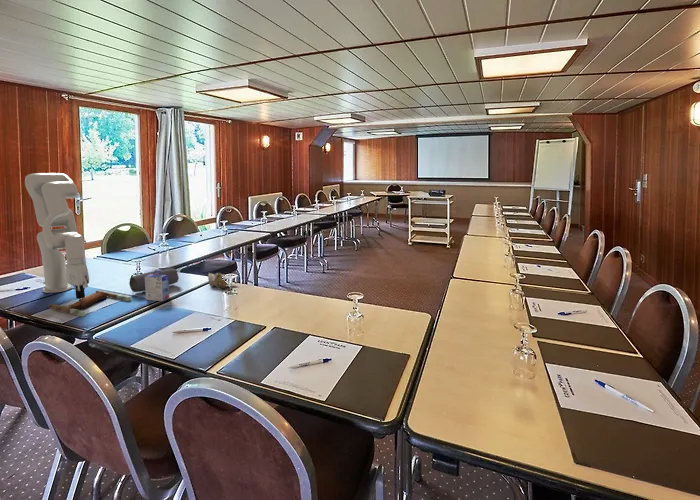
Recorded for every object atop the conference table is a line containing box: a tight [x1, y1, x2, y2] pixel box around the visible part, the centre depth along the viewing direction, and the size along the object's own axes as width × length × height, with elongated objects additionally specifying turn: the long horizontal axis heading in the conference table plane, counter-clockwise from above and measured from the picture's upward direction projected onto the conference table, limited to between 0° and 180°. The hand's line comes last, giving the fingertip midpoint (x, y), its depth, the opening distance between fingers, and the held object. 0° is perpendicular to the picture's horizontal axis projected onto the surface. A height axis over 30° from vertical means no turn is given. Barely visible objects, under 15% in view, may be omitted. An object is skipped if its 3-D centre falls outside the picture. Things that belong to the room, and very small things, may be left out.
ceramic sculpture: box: [207, 271, 237, 289], centre depth 228 cm, size 11×9×15 cm
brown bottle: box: [68, 292, 108, 311], centre depth 197 cm, size 18×7×7 cm
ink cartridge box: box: [145, 269, 170, 302], centre depth 205 cm, size 10×6×14 cm, turn 79°
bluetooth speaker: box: [129, 267, 180, 293], centre depth 220 cm, size 23×9×10 cm, turn 144°
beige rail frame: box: [47, 289, 132, 318], centre depth 196 cm, size 23×24×2 cm
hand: (80, 297), depth 199 cm, fingers closed
